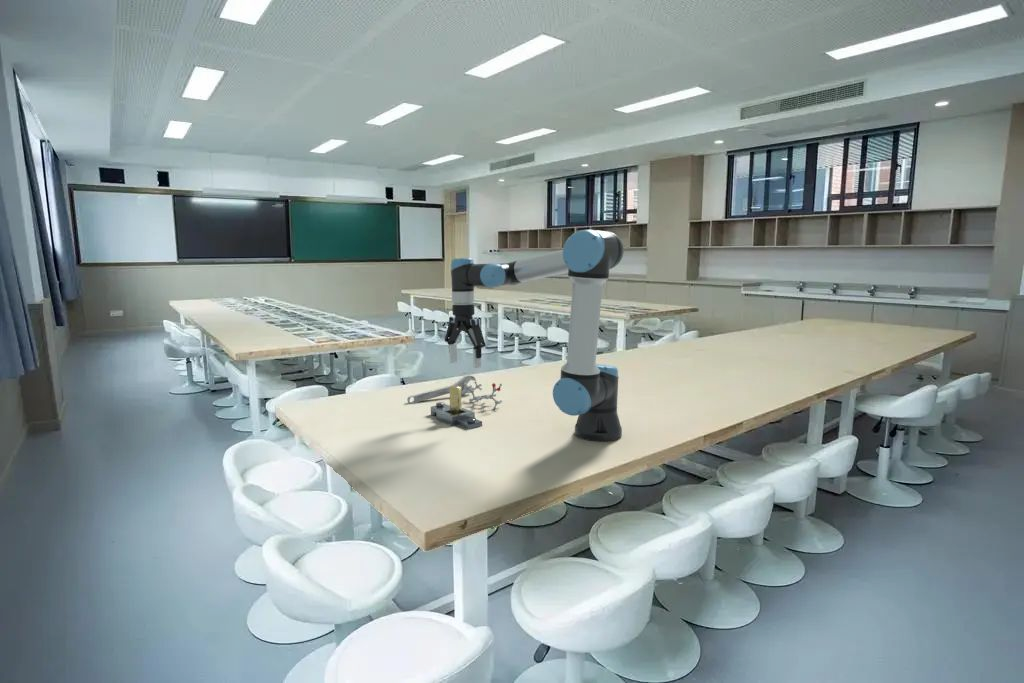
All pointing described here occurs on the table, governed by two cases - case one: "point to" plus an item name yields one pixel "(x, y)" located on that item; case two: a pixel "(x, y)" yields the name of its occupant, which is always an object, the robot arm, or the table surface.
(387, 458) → the table surface
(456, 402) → the pin
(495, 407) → the molecular model
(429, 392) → the wrench
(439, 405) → the link plate
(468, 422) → the link plate
